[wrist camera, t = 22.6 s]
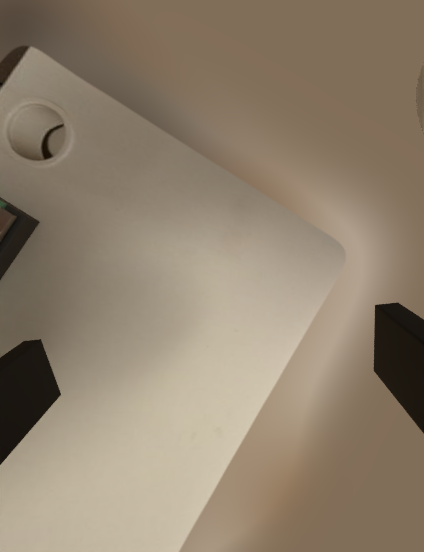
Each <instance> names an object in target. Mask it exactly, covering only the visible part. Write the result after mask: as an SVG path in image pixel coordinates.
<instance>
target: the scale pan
mask: <svg viewBox="0 0 424 552" xmlns="http://www.w3.org/2000/svg"><path fill="white" fill-rule="evenodd" d="M16 219H17V217H16V216H15V215H13V214H12V213H10V212H8V211H7V210H5V209H4V208H2V207H0V242H1V240H2V239H3V237H4V236H5V235H6V233H7V232H8V230H9V229H10V227H11V226H12V224H13V223H14V221H15V220H16Z"/></svg>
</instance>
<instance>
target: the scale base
mask: <svg viewBox="0 0 424 552" xmlns="http://www.w3.org/2000/svg"><path fill="white" fill-rule="evenodd" d="M0 207H2V208H4V209H5V210H7V211H8V212H10V213H12V214H13V215H15V216H16V217H17V219H16V220H15V221H14V223H13V224H12V226H11V227H10V229H9V230H8V232H7V233H6V235H5V236H4V237H3V239H2V240H1V242H0V279H1V278H2V277H3V275H4V274H5V272H6V271H7V269H8V268H9V266H10V265H11V263H12V262H13V260H14V259H15V257H16V256H17V254H18V253H19V252H20V250H21V249H22V247H23V246H24V244H25V243H26V241H27V240H28V238H29V237H30V235H31V234H32V232H33V231H34V230H35V228H36V227H37V225H38V224H39V221H38V220H36V219H34V218H33V217H31V216H30V215H28V214H26V213H25V212H23V211H21V210H20V209H18V208H17V207H15V206H13V205H12V204H10V203H9V202H7V201H5V200H4V199H2V198H1V197H0Z"/></svg>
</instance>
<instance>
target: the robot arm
mask: <svg viewBox="0 0 424 552" xmlns="http://www.w3.org/2000/svg"><path fill="white" fill-rule="evenodd" d="M374 372H375V373H376V374H377V375H378V377H379V378H380V379H381V380H382V381H383V383H384V384H385V385H386V387H387V388H388V389H389V390H390V391H391V393H392V394H393V395H394V397H395V398H396V399H397V400H398V402H399V403H400V404H401V405H402V406H403V408H404V409H405V410H406V412H407V413H408V414H409V415H410V417H411V418H412V419H413V420H414V422H415V423H416V424H417V426H418V427H419V428H420V429H421V430H422V432H423V433H424V320H423V319H422V318H420V317H419V316H417V315H416V314H414V313H413V312H411V311H410V310H408V309H407V308H405V307H403V306H402V305H401V304H399V303H390V304H381V305H375V339H374ZM60 395H61V393H60V390H59V388H58V385H57V382H56V379H55V377H54V374H53V371H52V368H51V366H50V363H49V360H48V358H47V355H46V352H45V349H44V347H43V344H42V341H41V339H40V340H30V341H24V342H22V343H21V344H19V345H18V346H16V347H15V348H13V349H12V350H11V351H9V352H8V353H6V354H5V355H3V356H2V357H1V358H0V465H1V463H2V462H3V461H4V460H5V459H6V458H7V456H8V455H9V454H10V453H11V452H12V451H13V449H14V448H15V447H16V446H17V445H18V444H19V443H20V441H21V440H22V439H23V438H24V437H25V436H26V434H27V433H28V432H29V431H30V430H31V429H32V427H33V426H34V425H35V424H36V423H37V422H38V421H39V419H40V418H41V417H42V416H43V415H44V414H45V412H46V411H47V410H48V409H49V408H50V407H51V405H52V404H53V403H54V402H55V401H56V400H57V399H58V397H59V396H60Z"/></svg>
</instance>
